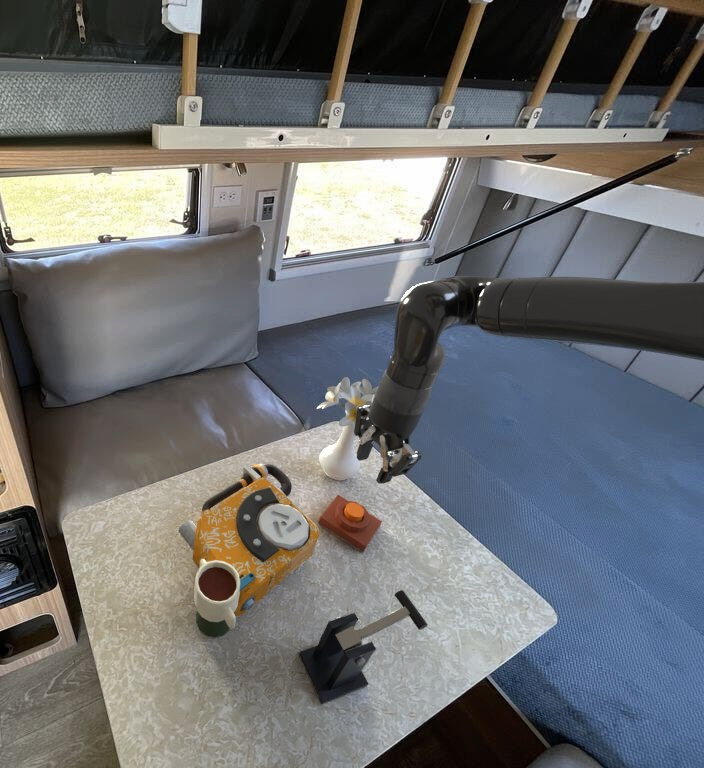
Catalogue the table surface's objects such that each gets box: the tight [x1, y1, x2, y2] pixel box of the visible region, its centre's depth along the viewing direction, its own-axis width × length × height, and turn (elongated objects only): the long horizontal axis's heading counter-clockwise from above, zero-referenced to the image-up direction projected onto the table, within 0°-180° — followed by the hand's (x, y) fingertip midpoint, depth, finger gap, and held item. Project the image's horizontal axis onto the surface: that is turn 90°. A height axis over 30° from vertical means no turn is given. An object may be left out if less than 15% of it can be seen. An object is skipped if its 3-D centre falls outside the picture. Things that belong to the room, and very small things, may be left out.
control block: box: [318, 494, 383, 553], centre depth 84 cm, size 10×8×4 cm
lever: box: [335, 589, 429, 652], centre depth 58 cm, size 12×5×2 cm, turn 107°
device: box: [178, 463, 320, 618], centre depth 80 cm, size 23×8×30 cm
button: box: [344, 502, 364, 522], centre depth 83 cm, size 4×4×2 cm
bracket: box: [298, 612, 377, 705], centre depth 60 cm, size 8×7×13 cm
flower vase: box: [316, 376, 378, 482], centre depth 91 cm, size 13×18×25 cm
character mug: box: [193, 559, 240, 638], centre depth 66 cm, size 11×7×13 cm, turn 26°
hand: (371, 469), depth 75 cm, fingers open, 5 cm apart
